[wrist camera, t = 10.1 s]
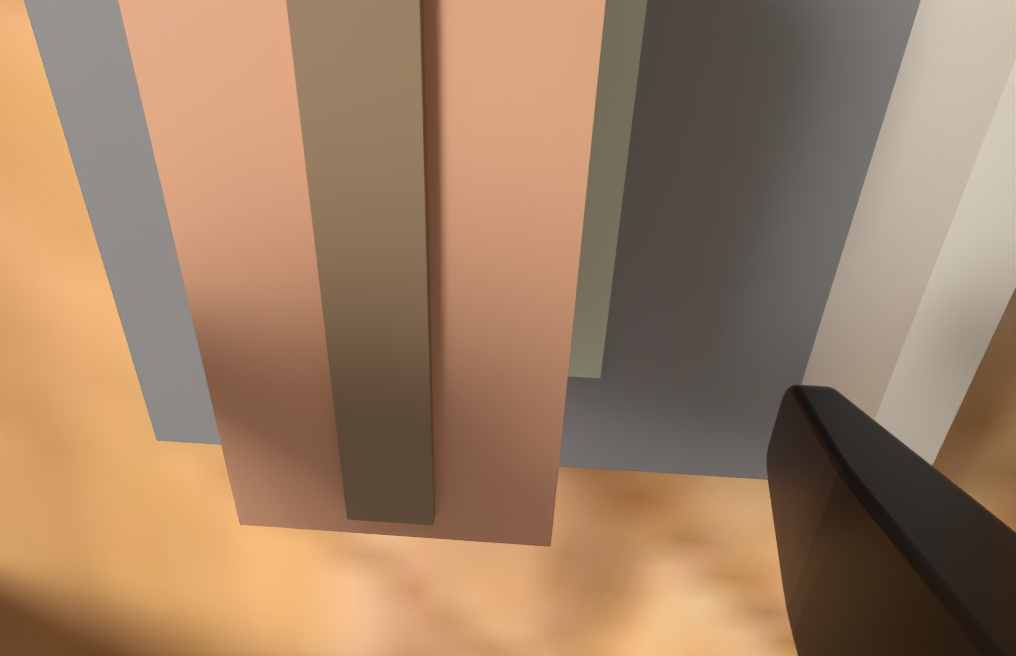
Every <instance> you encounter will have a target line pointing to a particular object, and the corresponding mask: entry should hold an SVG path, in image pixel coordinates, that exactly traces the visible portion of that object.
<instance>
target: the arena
mask: <svg viewBox="0 0 1016 656" xmlns="http://www.w3.org/2000/svg"><path fill="white" fill-rule="evenodd" d="M24 2H25V6H26V9H27V12H28V15H29V19H30V22H31V25H32V29H33V32H34V35H35V39H36V42H37V45H38V49H39V52H40V55H41V58H42V62H43V65H44V68H45V72H46V75H47V78H48V82H49V85H50V88H51V92H52V95H53V98H54V102H55V105H56V108H57V111H58V115H59V118H60V121H61V125H62V128H63V131H64V135H65V138H66V141H67V145H68V148H69V151H70V154H71V158H72V161H73V164H74V168H75V171H76V174H77V178H78V181H79V184H80V188H81V191H82V194H83V197H84V201H85V204H86V207H87V211H88V214H89V217H90V221H91V224H92V227H93V231H94V234H95V237H96V241H97V244H98V247H99V250H100V254H101V257H102V260H103V264H104V267H105V270H106V274H107V277H108V280H109V284H110V287H111V290H112V293H113V297H114V300H115V303H116V307H117V310H118V313H119V317H120V320H121V323H122V327H123V330H124V333H125V336H126V340H127V343H128V346H129V350H130V353H131V356H132V360H133V363H134V366H135V370H136V373H137V376H138V380H139V383H140V386H141V389H142V393H143V396H144V399H145V403H146V406H147V409H148V413H149V416H150V419H151V423H152V426H153V429H154V432H155V436H156V439H157V441H172V442H188V443H204V444H219V445H221V441H220V436H219V432H218V428H217V423H216V419H215V415H214V410H213V406H212V402H211V398H210V393H209V389H208V385H207V380H206V376H205V372H204V367H203V363H202V359H201V355H200V350H199V346H198V342H197V337H196V333H195V329H194V324H193V320H192V316H191V312H190V307H189V303H188V299H187V294H186V290H185V286H184V281H183V277H182V273H181V268H180V264H179V260H178V256H177V251H176V247H175V243H174V238H173V234H172V230H171V225H170V221H169V217H168V213H167V208H166V204H165V200H164V195H163V191H162V187H161V182H160V178H159V174H158V170H157V165H156V161H155V157H154V152H153V148H152V144H151V139H150V135H149V131H148V126H147V122H146V118H145V114H144V109H143V105H142V101H141V96H140V92H139V88H138V83H137V79H136V75H135V71H134V66H133V62H132V58H131V53H130V49H129V45H128V40H127V36H126V32H125V28H124V23H123V19H122V15H121V10H120V6H119V2H118V0H24ZM1015 288H1016V0H606V2H605V12H604V22H603V32H602V42H601V52H600V61H599V71H598V81H597V91H596V101H595V111H594V121H593V131H592V141H591V150H590V160H589V170H588V180H587V190H586V200H585V210H584V220H583V230H582V240H581V249H580V259H579V269H578V279H577V289H576V299H575V309H574V319H573V329H572V338H571V348H570V358H569V368H568V378H567V388H566V398H565V408H564V418H563V428H562V437H561V447H560V457H559V466H564V467H580V468H595V469H611V470H627V471H642V472H658V473H674V474H690V475H705V476H721V477H737V478H752V479H768V476H767V467H766V458H767V449H768V444H769V441H770V438H771V434H772V431H773V427H774V424H775V421H776V417H777V414H778V410H779V407H780V404H781V400H782V397H783V395H784V393H785V391H786V390H787V388H789V387H791V386H792V385H812V386H828V387H831V388H834V389H835V390H837V391H838V392H840V393H841V394H842V395H843V396H845V397H846V398H847V399H849V400H850V401H851V402H852V403H854V404H855V405H856V406H857V407H859V408H860V409H861V410H862V411H864V412H865V413H866V414H867V415H869V416H870V417H871V418H872V419H874V420H875V421H876V422H877V423H879V424H880V425H881V426H883V427H884V428H885V429H886V430H888V431H889V432H890V433H891V434H893V435H894V436H895V437H896V438H898V439H899V440H900V441H901V442H903V443H904V444H905V445H906V446H908V447H909V448H910V449H911V450H913V451H914V452H915V453H917V454H918V455H919V456H920V457H922V458H923V459H924V460H925V461H927V462H928V463H929V464H930V465H933V463H934V461H935V459H936V457H937V455H938V452H939V450H940V448H941V446H942V444H943V442H944V440H945V438H946V435H947V433H948V431H949V429H950V427H951V425H952V423H953V420H954V418H955V416H956V414H957V412H958V410H959V408H960V405H961V403H962V401H963V399H964V397H965V395H966V393H967V390H968V388H969V386H970V384H971V382H972V380H973V378H974V376H975V373H976V371H977V369H978V367H979V365H980V363H981V361H982V358H983V356H984V354H985V352H986V350H987V348H988V346H989V343H990V341H991V339H992V337H993V335H994V333H995V331H996V328H997V326H998V324H999V322H1000V320H1001V318H1002V316H1003V314H1004V311H1005V309H1006V307H1007V305H1008V303H1009V301H1010V299H1011V296H1012V294H1013V292H1014V290H1015Z"/></svg>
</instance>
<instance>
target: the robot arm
mask: <svg viewBox="0 0 1016 656" xmlns="http://www.w3.org/2000/svg"><path fill="white" fill-rule="evenodd" d="M766 467H767V476H768V483H769V490H770V498H771V505H772V512H773V519H774V526H775V533H776V541H777V548H778V555H779V562H780V569H781V576H782V583H783V590H784V596H785V602H786V608H787V613H788V618H789V622H790V626H791V630H792V635H793V639H794V642H795V646H796V650H797V654H798V656H1016V532H1015V531H1013V530H1012V529H1011V528H1010V527H1008V526H1007V525H1006V524H1005V523H1003V522H1002V521H1001V520H1000V519H998V518H997V517H996V516H995V515H993V514H992V513H991V512H990V511H988V510H987V509H986V508H985V507H983V506H982V505H981V504H979V503H978V502H977V501H976V500H974V499H973V498H972V497H971V496H969V495H968V494H967V493H966V492H964V491H963V490H962V489H961V488H959V487H958V486H957V485H956V484H954V483H953V482H952V481H951V480H949V479H948V478H947V477H945V476H944V475H943V474H942V473H940V472H939V471H938V470H937V469H935V468H934V467H933V466H932V465H930V464H929V463H928V462H927V461H925V460H924V459H923V458H922V457H920V456H919V455H918V454H917V453H915V452H914V451H913V450H911V449H910V448H909V447H908V446H906V445H905V444H904V443H903V442H901V441H900V440H899V439H898V438H896V437H895V436H894V435H893V434H891V433H890V432H889V431H888V430H886V429H885V428H884V427H883V426H881V425H880V424H879V423H877V422H876V421H875V420H874V419H872V418H871V417H870V416H869V415H867V414H866V413H865V412H864V411H862V410H861V409H860V408H859V407H857V406H856V405H855V404H854V403H852V402H851V401H850V400H849V399H847V398H846V397H845V396H843V395H842V394H841V393H840V392H838V391H837V390H835V389H834V388H831V387H828V386H812V385H792V386H791V387H789V388H787V390H786V391H785V393H784V395H783V397H782V400H781V404H780V407H779V410H778V414H777V417H776V421H775V424H774V427H773V431H772V434H771V438H770V441H769V444H768V449H767V458H766Z"/></svg>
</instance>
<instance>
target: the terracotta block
mask: <svg viewBox="0 0 1016 656" xmlns="http://www.w3.org/2000/svg"><path fill="white" fill-rule="evenodd" d="M118 2H119V6H120V10H121V15H122V19H123V23H124V28H125V32H126V36H127V40H128V45H129V49H130V53H131V58H132V62H133V66H134V71H135V75H136V79H137V83H138V88H139V92H140V96H141V101H142V105H143V109H144V114H145V118H146V122H147V126H148V131H149V135H150V139H151V144H152V148H153V152H154V157H155V161H156V165H157V170H158V174H159V178H160V182H161V187H162V191H163V195H164V200H165V204H166V208H167V213H168V217H169V221H170V225H171V230H172V234H173V238H174V243H175V247H176V251H177V256H178V260H179V264H180V268H181V273H182V277H183V281H184V286H185V290H186V294H187V299H188V303H189V307H190V312H191V316H192V320H193V324H194V329H195V333H196V337H197V342H198V346H199V350H200V355H201V359H202V363H203V367H204V372H205V376H206V380H207V385H208V389H209V393H210V398H211V402H212V406H213V410H214V415H215V419H216V423H217V428H218V432H219V436H220V441H221V445H222V449H223V453H224V458H225V462H226V466H227V471H228V475H229V479H230V484H231V488H232V492H233V497H234V501H235V505H236V509H237V514H238V518H239V522H240V525H253V526H268V527H282V528H296V529H310V530H324V531H338V532H352V533H366V534H381V535H395V536H409V537H423V538H437V539H451V540H465V541H479V542H494V543H508V544H522V545H536V546H551V536H552V526H553V517H554V507H555V497H556V487H557V477H558V467H559V457H560V447H561V437H562V428H563V418H564V408H565V398H566V388H567V378H568V368H569V358H570V348H571V338H572V329H573V319H574V309H575V299H576V289H577V279H578V269H579V259H580V249H581V240H582V230H583V220H584V210H585V200H586V190H587V180H588V170H589V160H590V150H591V141H592V131H593V121H594V111H595V101H596V91H597V81H598V71H599V61H600V52H601V42H602V32H603V22H604V12H605V2H606V0H118Z"/></svg>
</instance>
